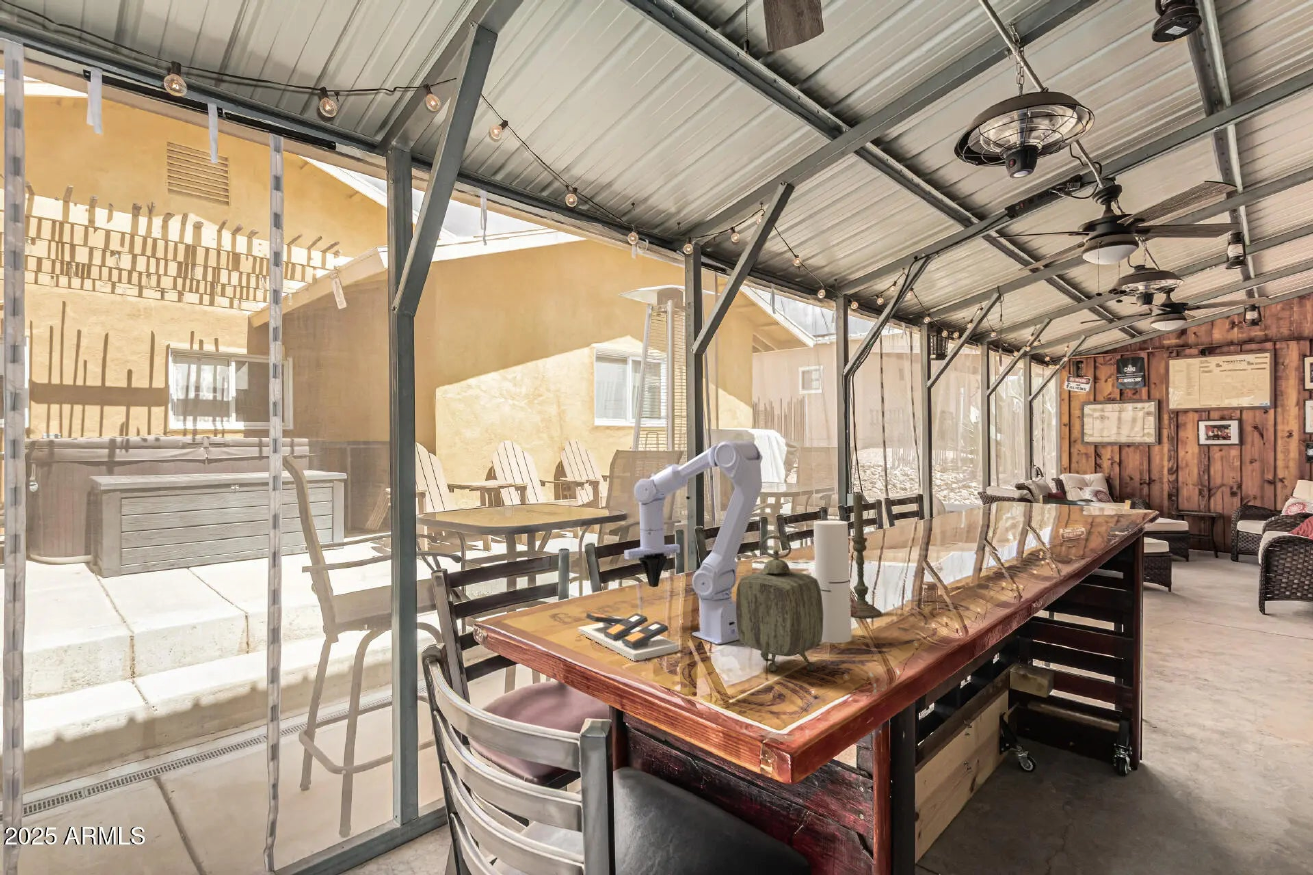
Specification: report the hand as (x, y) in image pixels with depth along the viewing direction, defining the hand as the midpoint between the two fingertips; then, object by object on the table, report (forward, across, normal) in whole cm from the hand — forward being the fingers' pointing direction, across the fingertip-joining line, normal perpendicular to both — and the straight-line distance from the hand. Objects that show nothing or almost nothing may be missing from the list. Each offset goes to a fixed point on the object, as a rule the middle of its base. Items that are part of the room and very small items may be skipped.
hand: (653, 586), depth 156 cm
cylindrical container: (+10, -25, +33) cm, 42 cm away
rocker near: (+6, +12, +15) cm, 20 cm away
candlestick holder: (+10, -46, +23) cm, 52 cm away
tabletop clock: (+10, -2, +40) cm, 41 cm away
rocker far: (+6, +12, -1) cm, 13 cm away
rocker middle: (+6, +12, +7) cm, 15 cm away
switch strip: (+9, +12, +7) cm, 17 cm away
